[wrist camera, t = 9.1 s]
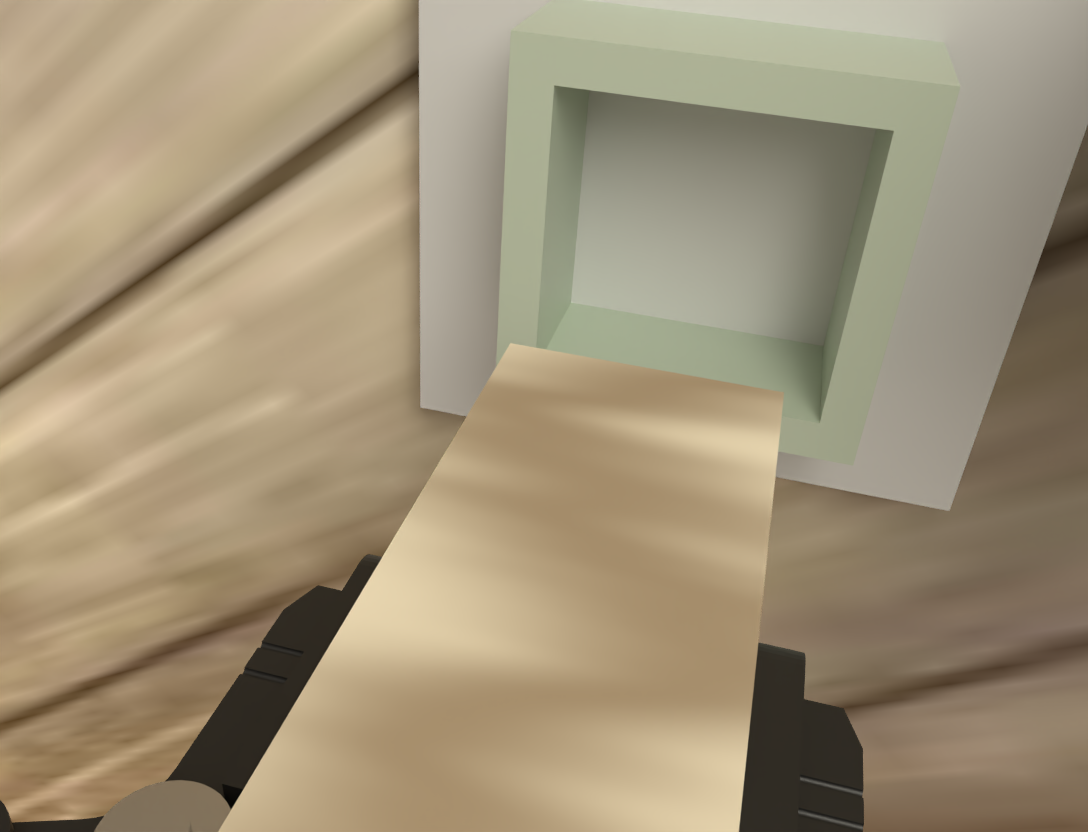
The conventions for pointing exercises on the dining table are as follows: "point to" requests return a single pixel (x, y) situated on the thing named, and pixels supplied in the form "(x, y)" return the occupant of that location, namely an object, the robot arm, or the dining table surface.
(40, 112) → the dining table surface
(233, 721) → the robot arm
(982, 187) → the stand
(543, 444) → the beige long rectangular block
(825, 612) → the dining table surface
